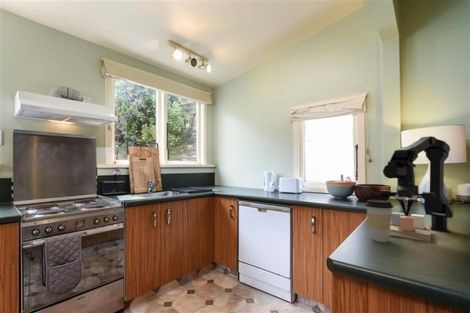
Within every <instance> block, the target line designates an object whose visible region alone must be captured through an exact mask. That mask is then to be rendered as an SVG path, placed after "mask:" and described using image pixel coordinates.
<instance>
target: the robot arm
mask: <svg viewBox="0 0 470 313" xmlns="http://www.w3.org/2000/svg"><path fill="white" fill-rule="evenodd" d="M450 151H451V147H450V145H449V144H448V143H447V142H446V141H445V140H443V139H442V140H441V139H438V138H436V137H435V136H432V135H431V136H422V137H420V138H419V139H418V140H416V141H415V142H413V143H412V144H409V145H407V146H404V147H403V146H402V147H398V148H396V149H394V150H393V153H392V155H391V157H390V160H389V161H387V164H386V165H385V166H384V167H383V170H382V173H383V176H384V177H385V178H387V179H396V180H397V181H396V182H397V185H396V192H394V191H392V190H390V189H381V190H379V192H378V196H379V197H378V198H389V197H394V200H395V201H398V202H399V204H400V206H401V208H402V211H403V213H404V214H405V216H408V217H409V214H410V210H411V207H413V204H414V202H416V203H417V202H418V199H423V201H424V203H423V208H424V213H425V215H426V216H430V223H431V224H430V226H429V227H430V231H431V230H432V231H440V232H448V233H450V229H449V228H448V219H451V218H452V219H453V217H454V211H453V209H452V208H451V206H450V204H449V199H448V198H447V197H446V195H445V194H444V178H445V177H444V176H445V175H444V172H445V169H444V168H445V162H446V160H447V159H448V158H449V154H450ZM422 152H424V154H425V157H426V159H428V161H429V191H422V193H419V185H415V170H414V168H417V165H416V164H414V162H415V161H416V160H417V159H418V158H419V154H420V153H422ZM405 198H408V199H407V203H406V200H405ZM406 204H407V206H406Z"/></svg>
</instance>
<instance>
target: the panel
mask: <svg viewBox="0 0 470 313" xmlns="http://www.w3.org/2000/svg"><path fill="white" fill-rule="evenodd" d="M390 236H392V237H397V238H405V239H412V240H415V241H416V240H417V241H422V242H423V241H425V242H429V243H431V242H432V240H431V239H432V238H431V236H432V235H431V229H430V226H425V229H421V228H414V231H406V230H400V226H397V225H392V221H391V225H390V231H389V237H390Z"/></svg>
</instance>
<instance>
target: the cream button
mask: <svg viewBox="0 0 470 313" xmlns="http://www.w3.org/2000/svg"><path fill="white" fill-rule="evenodd" d="M410 217H414V228H421V229H425V227H426V225H425V224H426V223H425V214H416V213H415V214H414V213H411V214H410Z"/></svg>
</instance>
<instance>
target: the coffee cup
mask: <svg viewBox="0 0 470 313" xmlns="http://www.w3.org/2000/svg"><path fill="white" fill-rule="evenodd" d="M364 206H365V207H366V215H367V216H366V217H367V225H368V227H369V235H370V240H371V241H374V242H377V243H388V242H389V240H390V235H389V231H390V225H391V222H392V209H393V208H394V204H392V201H390V200H384V199H383V200H381V199H367V200H366V203H365V205H364Z"/></svg>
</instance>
